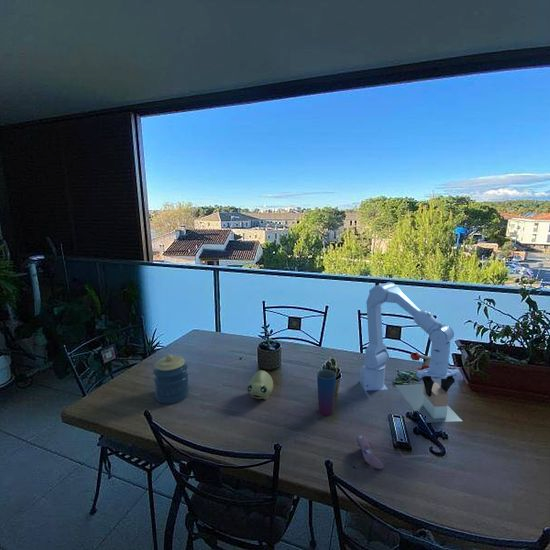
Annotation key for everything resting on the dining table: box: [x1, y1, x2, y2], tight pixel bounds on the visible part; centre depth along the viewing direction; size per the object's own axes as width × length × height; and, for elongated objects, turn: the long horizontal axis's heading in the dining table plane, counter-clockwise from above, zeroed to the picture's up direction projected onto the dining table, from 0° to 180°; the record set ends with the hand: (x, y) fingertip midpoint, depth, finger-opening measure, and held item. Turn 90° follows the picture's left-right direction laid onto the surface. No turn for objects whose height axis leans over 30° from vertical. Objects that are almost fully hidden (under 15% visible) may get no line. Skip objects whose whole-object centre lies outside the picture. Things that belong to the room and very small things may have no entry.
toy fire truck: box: [410, 351, 430, 371], centre depth 144 cm, size 3×14×10 cm, turn 84°
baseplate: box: [394, 383, 463, 424], centre depth 124 cm, size 14×24×1 cm, turn 3°
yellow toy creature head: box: [247, 369, 274, 401], centre depth 127 cm, size 10×12×11 cm
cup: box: [316, 369, 337, 417], centre depth 117 cm, size 7×7×15 cm
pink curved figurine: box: [355, 435, 384, 470], centre depth 96 cm, size 10×5×7 cm, turn 5°
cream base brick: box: [422, 394, 447, 418], centre depth 117 cm, size 4×8×4 cm, turn 3°
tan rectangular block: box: [423, 381, 449, 407], centre depth 116 cm, size 4×8×4 cm, turn 2°
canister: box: [152, 353, 190, 405], centre depth 128 cm, size 13×13×18 cm
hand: (435, 394), depth 116 cm, fingers open, 5 cm apart
